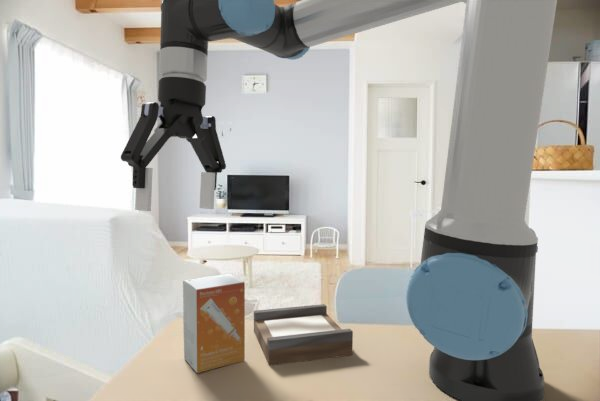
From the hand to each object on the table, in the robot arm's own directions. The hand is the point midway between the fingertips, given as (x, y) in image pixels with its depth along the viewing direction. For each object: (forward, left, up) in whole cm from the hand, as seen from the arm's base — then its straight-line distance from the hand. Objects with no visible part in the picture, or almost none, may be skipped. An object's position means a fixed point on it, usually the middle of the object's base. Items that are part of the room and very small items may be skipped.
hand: (177, 209), depth 70 cm
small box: (-6, -5, -24) cm, 25 cm away
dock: (-3, -20, -24) cm, 31 cm away
